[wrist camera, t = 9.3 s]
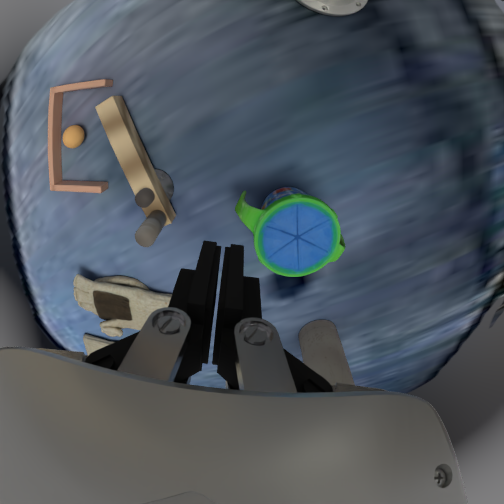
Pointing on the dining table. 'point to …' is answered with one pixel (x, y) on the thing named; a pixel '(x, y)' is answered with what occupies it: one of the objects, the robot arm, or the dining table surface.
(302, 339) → the thermos bottle
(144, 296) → the pair of gloves
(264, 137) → the dining table surface
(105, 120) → the lever
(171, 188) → the pivot base
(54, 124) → the open frame
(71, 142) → the ball
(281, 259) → the snack cup
